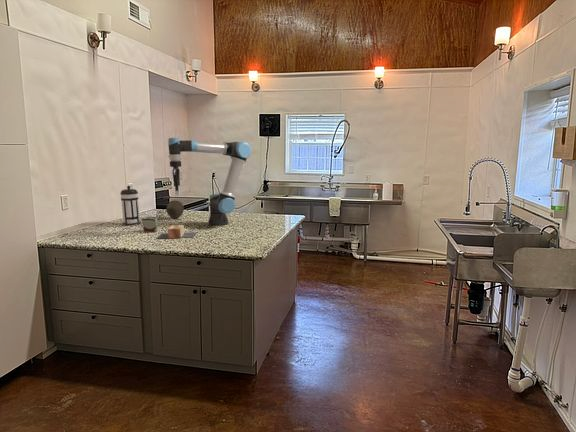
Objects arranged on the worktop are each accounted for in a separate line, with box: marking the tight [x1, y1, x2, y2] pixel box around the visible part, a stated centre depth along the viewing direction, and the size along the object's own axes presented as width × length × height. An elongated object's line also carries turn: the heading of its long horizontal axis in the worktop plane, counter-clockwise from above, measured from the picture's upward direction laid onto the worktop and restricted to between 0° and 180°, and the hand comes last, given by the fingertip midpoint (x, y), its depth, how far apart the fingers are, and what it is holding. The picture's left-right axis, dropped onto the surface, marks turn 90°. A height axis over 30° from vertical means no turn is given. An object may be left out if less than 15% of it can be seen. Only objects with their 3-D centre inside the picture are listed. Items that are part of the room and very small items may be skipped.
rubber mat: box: [156, 231, 198, 240], centre depth 273 cm, size 24×14×1 cm, turn 94°
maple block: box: [167, 224, 185, 239], centre depth 270 cm, size 8×6×12 cm
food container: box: [140, 216, 158, 233], centre depth 288 cm, size 12×6×10 cm, turn 71°
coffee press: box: [119, 185, 141, 227], centre depth 311 cm, size 17×16×30 cm
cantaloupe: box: [165, 200, 185, 219], centre depth 334 cm, size 14×14×15 cm
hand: (177, 195), depth 277 cm, fingers closed
